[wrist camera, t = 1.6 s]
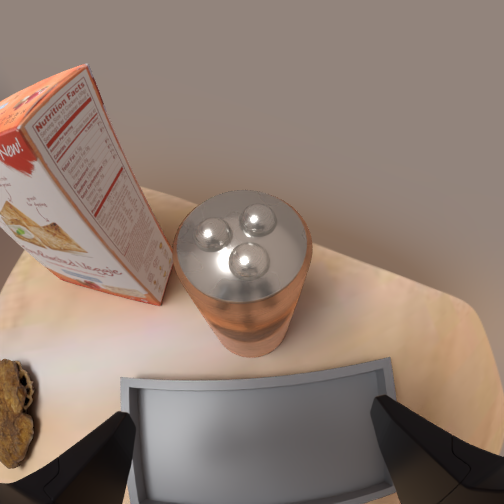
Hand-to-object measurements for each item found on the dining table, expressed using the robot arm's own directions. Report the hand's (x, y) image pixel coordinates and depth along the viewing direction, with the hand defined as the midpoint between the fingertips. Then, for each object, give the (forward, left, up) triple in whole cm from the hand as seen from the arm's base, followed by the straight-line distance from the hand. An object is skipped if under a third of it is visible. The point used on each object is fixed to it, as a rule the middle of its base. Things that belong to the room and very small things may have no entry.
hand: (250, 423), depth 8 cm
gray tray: (-3, +2, -14) cm, 14 cm away
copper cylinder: (+6, -5, -14) cm, 16 cm away
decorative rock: (+15, +26, -14) cm, 33 cm away
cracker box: (+20, +3, -14) cm, 24 cm away
